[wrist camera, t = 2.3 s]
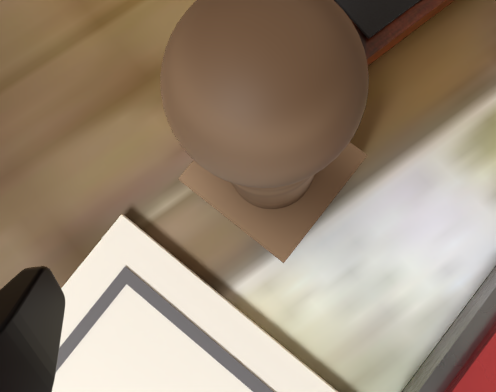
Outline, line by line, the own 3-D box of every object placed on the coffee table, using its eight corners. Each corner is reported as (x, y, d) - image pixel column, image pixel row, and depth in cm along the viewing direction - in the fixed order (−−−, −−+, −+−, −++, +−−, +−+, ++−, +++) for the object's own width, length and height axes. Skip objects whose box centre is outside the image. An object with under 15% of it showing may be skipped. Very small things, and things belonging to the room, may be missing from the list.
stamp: (283, 262, 19) (288, 273, 6) (192, 190, 19) (35, 71, 7) (354, 170, 19) (495, 5, 7) (263, 102, 20) (233, -165, 7)
